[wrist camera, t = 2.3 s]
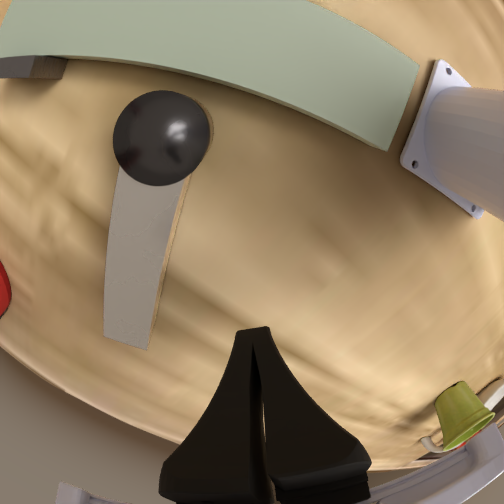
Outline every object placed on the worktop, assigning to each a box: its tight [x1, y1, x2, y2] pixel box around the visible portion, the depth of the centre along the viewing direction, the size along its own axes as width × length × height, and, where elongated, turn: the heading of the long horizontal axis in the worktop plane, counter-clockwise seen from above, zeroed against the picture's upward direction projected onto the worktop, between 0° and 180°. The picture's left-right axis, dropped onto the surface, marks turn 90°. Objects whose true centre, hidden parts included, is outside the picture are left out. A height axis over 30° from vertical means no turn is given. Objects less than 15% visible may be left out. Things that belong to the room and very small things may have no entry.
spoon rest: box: [421, 379, 504, 453], centre depth 34 cm, size 24×12×7 cm, turn 147°
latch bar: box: [104, 90, 214, 350], centre depth 14 cm, size 14×4×3 cm, turn 160°
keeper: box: [0, 55, 68, 79], centre depth 8 cm, size 4×1×3 cm, turn 70°
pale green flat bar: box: [0, 0, 420, 152], centre depth 9 cm, size 24×5×2 cm, turn 70°
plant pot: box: [435, 381, 495, 451], centre depth 27 cm, size 9×9×9 cm
